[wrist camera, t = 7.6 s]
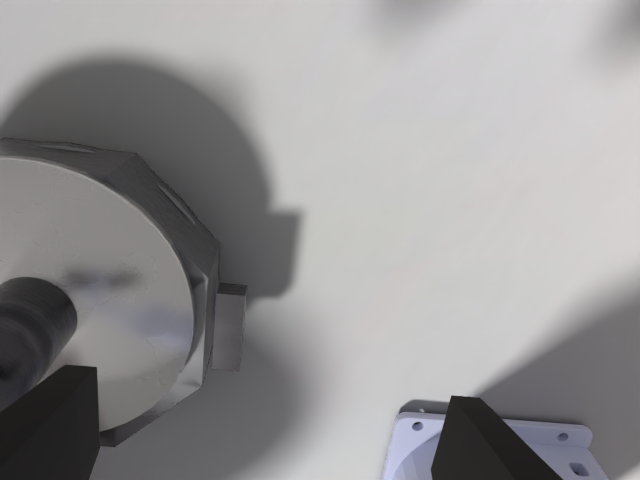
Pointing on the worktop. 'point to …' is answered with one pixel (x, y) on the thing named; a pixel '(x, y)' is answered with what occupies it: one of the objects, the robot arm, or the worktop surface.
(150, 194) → the pot
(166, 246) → the lid
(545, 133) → the worktop surface
